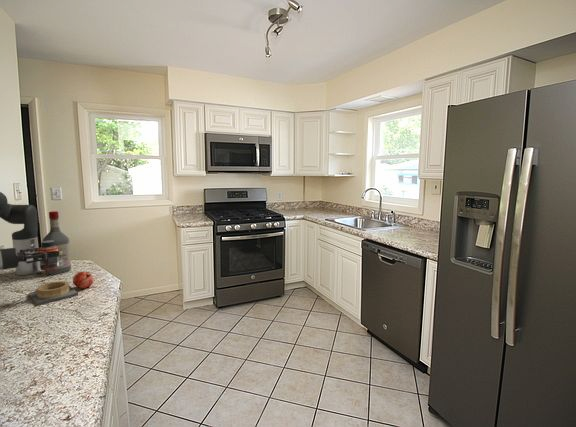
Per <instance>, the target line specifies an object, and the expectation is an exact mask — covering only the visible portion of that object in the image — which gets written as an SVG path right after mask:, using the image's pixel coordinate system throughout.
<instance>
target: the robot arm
mask: <svg viewBox="0 0 576 427" xmlns="http://www.w3.org/2000/svg"><path fill="white" fill-rule="evenodd" d="M8 202H9V201H8V198H7V196H6V195H5V193H3V192H2V191H0V219H2V220H4V221H5V222H7V223H8V224H13V225H23V228H21V229H20V230H16V231H13V232H12V233H11V240H12V247H10V248H9V247H8V248H0V271H4V270H5V271H6V270H11V269H14V270H15V275H18V276H25V275H26V276H27V275H33V274H36V273H39V272H41V269H40V261H44V260H46V259H47V258H51V257H57V256H59V251H51V252H41V253H40V252H39V248H40V247H39V241H38V240H39V239H38V230H39V228H38V227H39V226H38V212H37V211H38V210H37V208H36V207H35V205H34V204H11V203H8ZM40 256H42V257H40Z"/></svg>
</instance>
